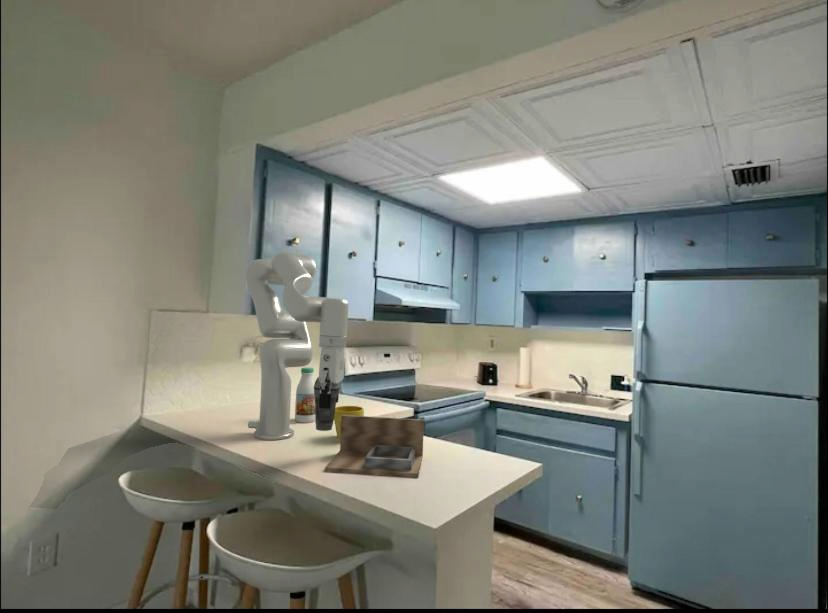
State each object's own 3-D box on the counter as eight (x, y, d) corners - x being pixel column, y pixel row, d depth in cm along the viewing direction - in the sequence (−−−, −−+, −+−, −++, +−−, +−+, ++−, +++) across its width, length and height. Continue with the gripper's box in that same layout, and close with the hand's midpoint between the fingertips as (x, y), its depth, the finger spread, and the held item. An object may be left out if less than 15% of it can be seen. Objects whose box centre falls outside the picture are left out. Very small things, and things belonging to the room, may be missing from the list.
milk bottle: (290, 421, 166) (292, 367, 167) (305, 417, 173) (308, 366, 173) (304, 424, 162) (306, 369, 163) (319, 420, 168) (322, 368, 169)
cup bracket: (324, 471, 114) (326, 428, 114) (340, 452, 129) (342, 415, 130) (418, 477, 111) (419, 433, 112) (422, 458, 127) (423, 419, 128)
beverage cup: (329, 433, 120) (334, 360, 120) (305, 430, 122) (310, 357, 122) (341, 427, 127) (345, 357, 127) (318, 424, 129) (322, 355, 129)
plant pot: (324, 438, 144) (325, 408, 145) (346, 432, 153) (347, 404, 153) (347, 444, 138) (348, 413, 139) (369, 438, 147) (370, 408, 147)
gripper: (337, 345, 116) (333, 413, 116) (352, 341, 133) (349, 400, 133) (309, 343, 117) (305, 411, 116) (328, 339, 134) (324, 398, 134)
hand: (328, 404), depth 125 cm, fingers closed on beverage cup, 7 cm apart
